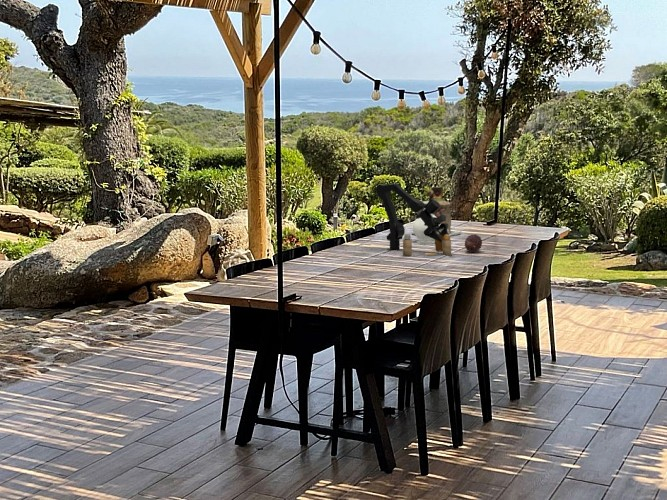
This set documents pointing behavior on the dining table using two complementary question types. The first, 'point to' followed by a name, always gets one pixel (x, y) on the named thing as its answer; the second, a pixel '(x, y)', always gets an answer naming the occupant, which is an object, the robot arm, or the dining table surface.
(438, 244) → the disposable coffee cup
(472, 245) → the pine cone
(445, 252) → the orange ball tube
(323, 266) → the dining table surface
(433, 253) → the card
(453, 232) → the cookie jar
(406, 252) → the grey ball tube
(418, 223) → the decorative vase
